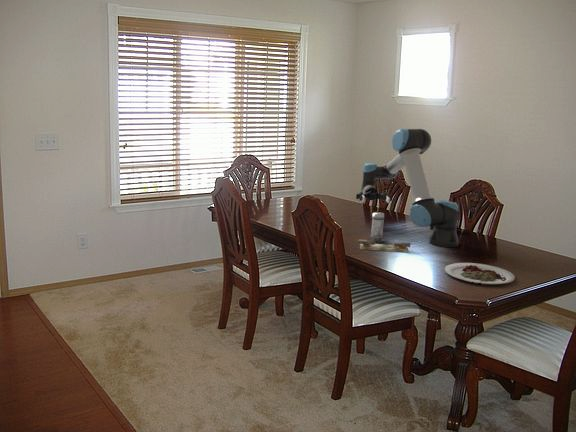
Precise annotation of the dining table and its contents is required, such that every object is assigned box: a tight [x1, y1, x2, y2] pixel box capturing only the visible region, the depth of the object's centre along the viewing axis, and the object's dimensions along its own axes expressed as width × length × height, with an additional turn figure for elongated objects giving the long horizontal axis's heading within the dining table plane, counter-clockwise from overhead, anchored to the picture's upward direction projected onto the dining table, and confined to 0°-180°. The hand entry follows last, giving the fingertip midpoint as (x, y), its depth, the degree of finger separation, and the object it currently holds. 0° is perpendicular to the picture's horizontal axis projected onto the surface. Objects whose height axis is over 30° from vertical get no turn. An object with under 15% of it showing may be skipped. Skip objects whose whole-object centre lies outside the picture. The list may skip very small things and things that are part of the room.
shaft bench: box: [358, 239, 411, 253], centre depth 313 cm, size 26×8×4 cm, turn 85°
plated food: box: [444, 262, 516, 285], centre depth 274 cm, size 30×30×3 cm
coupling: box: [370, 211, 385, 243], centre depth 328 cm, size 6×6×15 cm
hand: (376, 200), depth 334 cm, fingers open, 13 cm apart
